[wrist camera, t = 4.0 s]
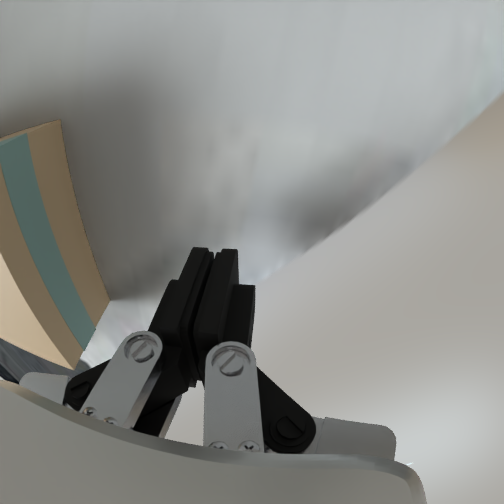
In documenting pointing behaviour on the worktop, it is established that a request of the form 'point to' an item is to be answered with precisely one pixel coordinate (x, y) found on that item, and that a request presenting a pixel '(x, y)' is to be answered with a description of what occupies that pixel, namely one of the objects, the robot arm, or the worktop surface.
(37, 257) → the carton
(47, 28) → the worktop surface
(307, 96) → the worktop surface
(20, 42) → the worktop surface
